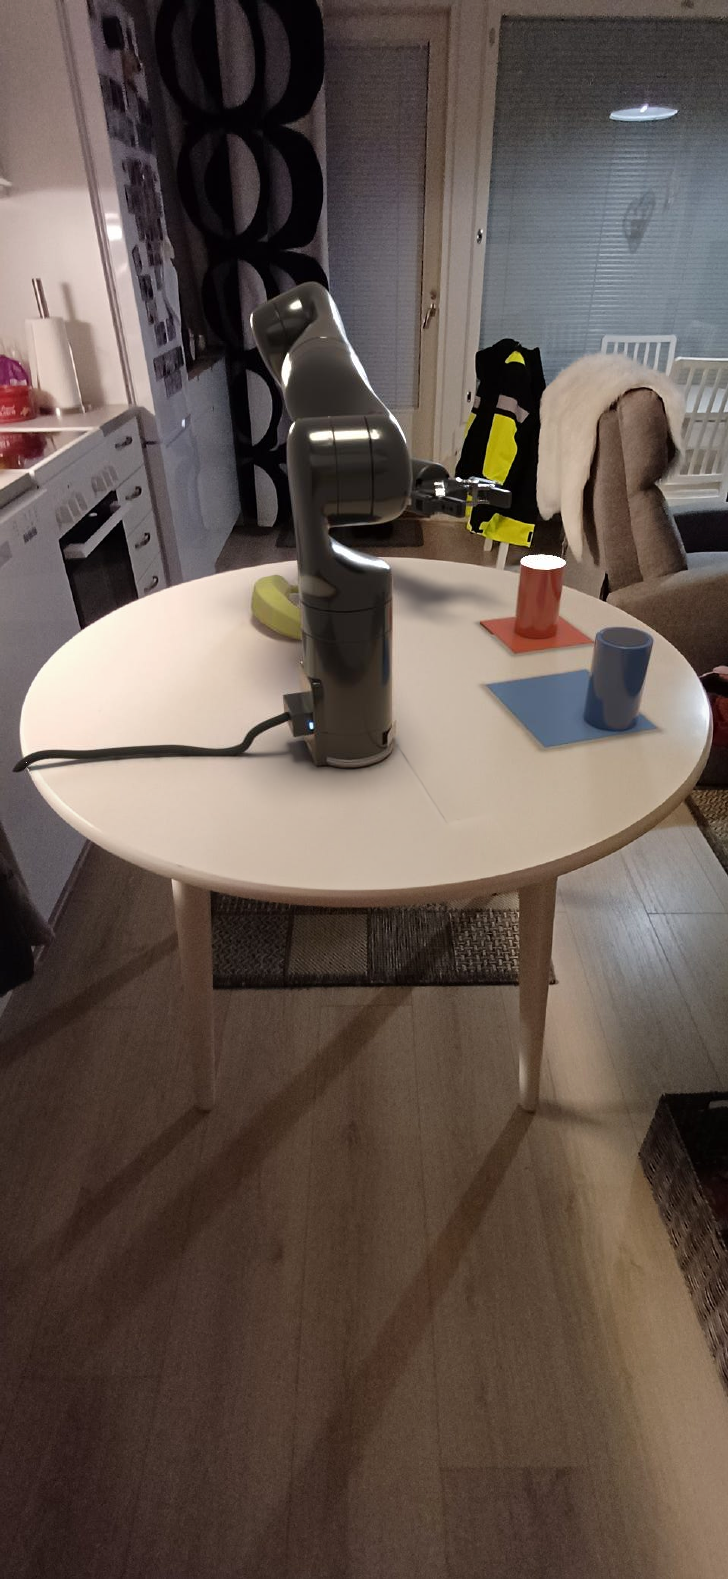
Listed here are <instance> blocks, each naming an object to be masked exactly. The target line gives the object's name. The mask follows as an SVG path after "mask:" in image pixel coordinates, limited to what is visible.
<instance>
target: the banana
mask: <svg viewBox="0 0 728 1579" xmlns="http://www.w3.org/2000/svg"><path fill="white" fill-rule="evenodd" d="M291 594H299V588H298V585H293V584H290V583H289V581H288V580H287V579H286V577H284V576H283V575H279V574H272V575H268V576H263V577H260V578H259V579H257V580H256V581H255V583H254V586H253V590H252V596H251V600H250V608H251V611H252V613H253V615H254V616H255V617H256V618H257V619H258V620H259V621H260V622H261V623H262V624H263V625H265V626H266V627H268V628H270V629H271V630H273V631H274V632H276V633H277V634H280V635H282V636H285V637H287V638H291V639H294V640H298V641H299V640H300V641H302V632H301V617H300V607H297V606H296V605H294V603H292V602H291V601H290V600H289V598H290V595H291Z"/></svg>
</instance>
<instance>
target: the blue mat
mask: <svg viewBox="0 0 728 1579" xmlns="http://www.w3.org/2000/svg"><path fill="white" fill-rule="evenodd" d="M589 675H590V671H588V670H587V669H582V670H574V671H568V672H561V673H554V674H547V675H541V676H534V677H528V678H522V679H514V680H508V681H501V682H494V683H488V684H485V686H486V687H487V688H488V689H489V690H490V692H492V693H493V694H494V695H495V696H496V697H497V699H499V701H500V702H501V703H502V704H503V705H504V706H505V707H506V708H507V709H508V711H510V713H512V714H513V716H514V717H516V719H517V720H518V721H519V722H520V723H521V724H522V725H523V726H524V727H525V728H526V730H528V732H530V734H531V735H532V736H533V737H534V738H535V739H536V740H537V741H538V742H539V743H540V744H541V746H543V748H550V747H556V746H562V745H567V744H573V743H579V742H584V741H590V740H596V739H602V738H609V737H613V736H619V735H625V734H631V733H637V732H642V731H650V730H655V729H658V726H656V725H655V724H654V723H652V721H650V720H649V719H647V718H646V717H645V716H644V715H643V714H642V713H641V712H639V715H638V720H637V724H636V725H635V726H634V727H633V728H631V729H629V730H625V731H606V730H601V729H598V728H595V727H593V726H591V725H589V724H588V723H587V722H586V721H585V720H584V718H583V712H584V706H585V700H586V694H587V687H588V681H589Z"/></svg>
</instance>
